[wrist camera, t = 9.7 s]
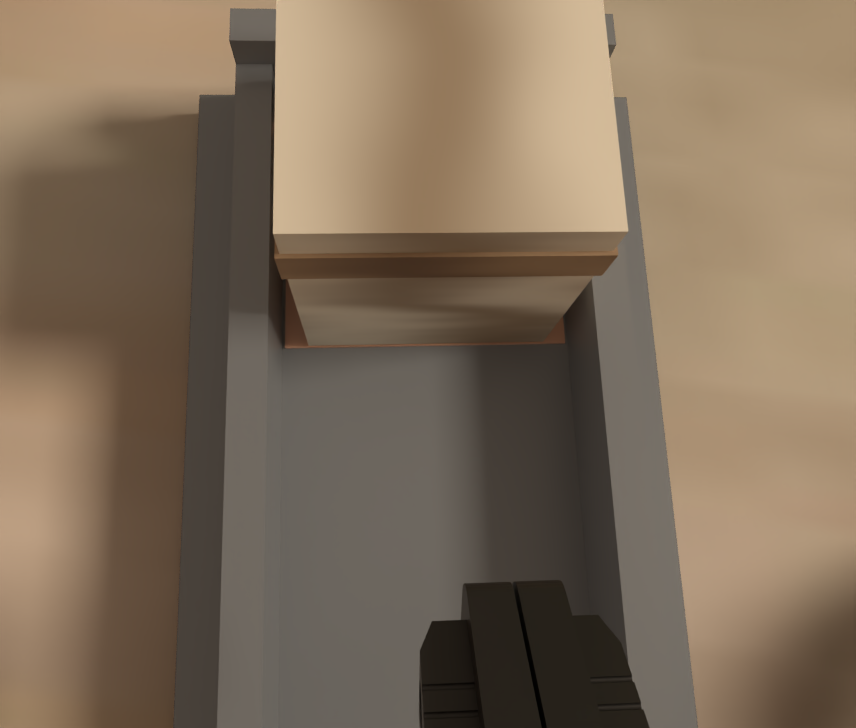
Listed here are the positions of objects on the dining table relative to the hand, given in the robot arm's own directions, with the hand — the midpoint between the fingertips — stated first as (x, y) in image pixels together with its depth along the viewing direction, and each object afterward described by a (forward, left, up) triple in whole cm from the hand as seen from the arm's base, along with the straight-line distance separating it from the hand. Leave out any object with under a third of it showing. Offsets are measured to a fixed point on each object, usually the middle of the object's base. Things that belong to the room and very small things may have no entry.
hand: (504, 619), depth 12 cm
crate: (0, -11, -9) cm, 14 cm away
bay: (0, -3, -11) cm, 11 cm away
